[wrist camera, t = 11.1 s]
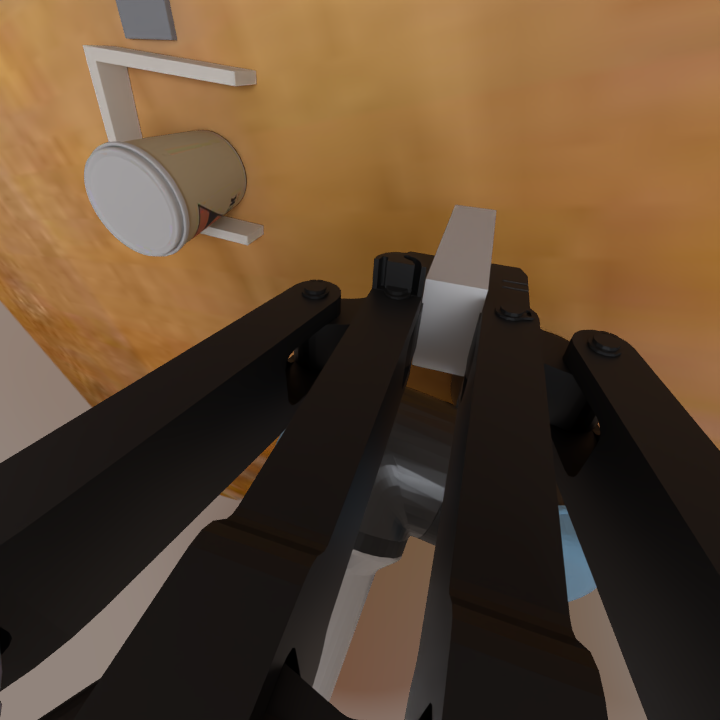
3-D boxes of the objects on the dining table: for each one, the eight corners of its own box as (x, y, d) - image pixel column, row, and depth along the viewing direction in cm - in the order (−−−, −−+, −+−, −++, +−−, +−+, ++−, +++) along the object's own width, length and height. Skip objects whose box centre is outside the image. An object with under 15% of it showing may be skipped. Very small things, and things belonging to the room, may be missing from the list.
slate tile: (180, 40, 35) (172, 39, 34) (135, 38, 36) (125, 38, 35) (165, -38, 32) (155, -41, 31) (116, -37, 33) (105, -40, 32)
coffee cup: (211, 226, 45) (137, 271, 37) (158, 144, 41) (60, 172, 32) (269, 198, 41) (201, 241, 32) (218, 101, 36) (122, 121, 28)
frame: (263, 234, 44) (247, 245, 41) (150, 206, 46) (128, 214, 44) (255, 70, 34) (234, 71, 32) (113, 46, 37) (82, 44, 34)
